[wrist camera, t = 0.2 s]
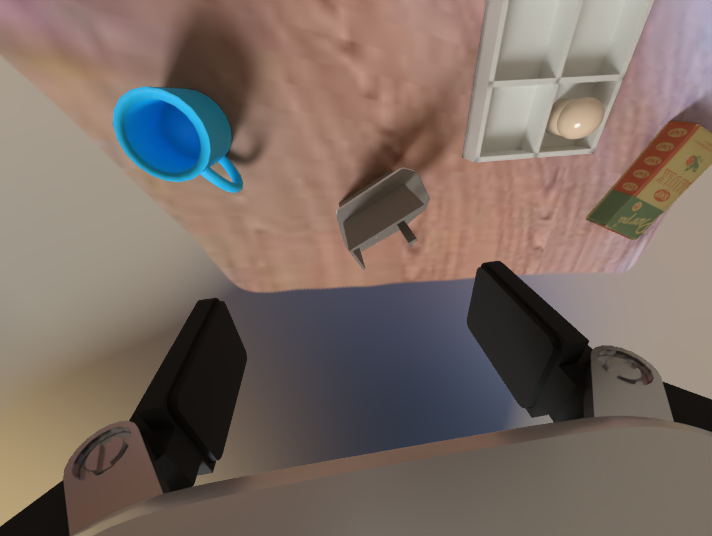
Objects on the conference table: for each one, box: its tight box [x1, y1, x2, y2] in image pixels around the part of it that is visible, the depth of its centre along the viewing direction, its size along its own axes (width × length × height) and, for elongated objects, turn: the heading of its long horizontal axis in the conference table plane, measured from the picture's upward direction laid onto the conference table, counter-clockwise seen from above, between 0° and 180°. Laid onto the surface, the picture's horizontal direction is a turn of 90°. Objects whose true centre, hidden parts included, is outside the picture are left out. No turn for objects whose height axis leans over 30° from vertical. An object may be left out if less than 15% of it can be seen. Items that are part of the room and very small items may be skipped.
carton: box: [586, 121, 712, 240], centre depth 43 cm, size 8×16×4 cm, turn 158°
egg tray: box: [462, 0, 654, 162], centre depth 31 cm, size 25×17×4 cm
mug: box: [113, 87, 243, 193], centre depth 30 cm, size 12×8×8 cm
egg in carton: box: [545, 97, 605, 139], centre depth 34 cm, size 5×5×6 cm
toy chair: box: [336, 167, 430, 270], centre depth 34 cm, size 20×25×15 cm
